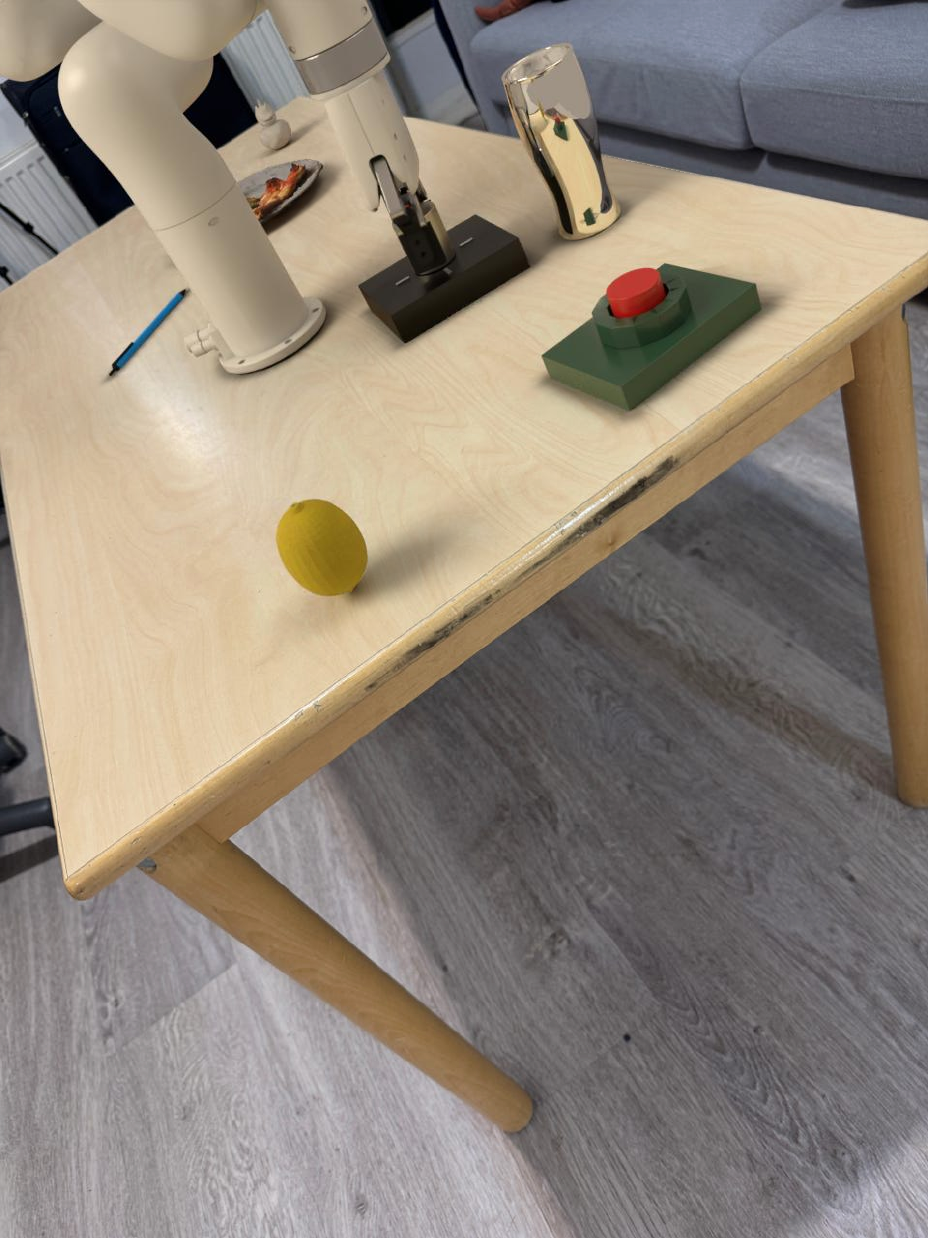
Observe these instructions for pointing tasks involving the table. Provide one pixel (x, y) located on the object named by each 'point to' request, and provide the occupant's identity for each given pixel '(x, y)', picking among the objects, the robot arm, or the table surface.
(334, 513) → the lemon
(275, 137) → the rubber duck
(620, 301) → the button
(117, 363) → the pen
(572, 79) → the beer glass
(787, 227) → the table surface
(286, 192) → the food plate
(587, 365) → the switchbox
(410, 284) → the panel
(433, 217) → the knob
